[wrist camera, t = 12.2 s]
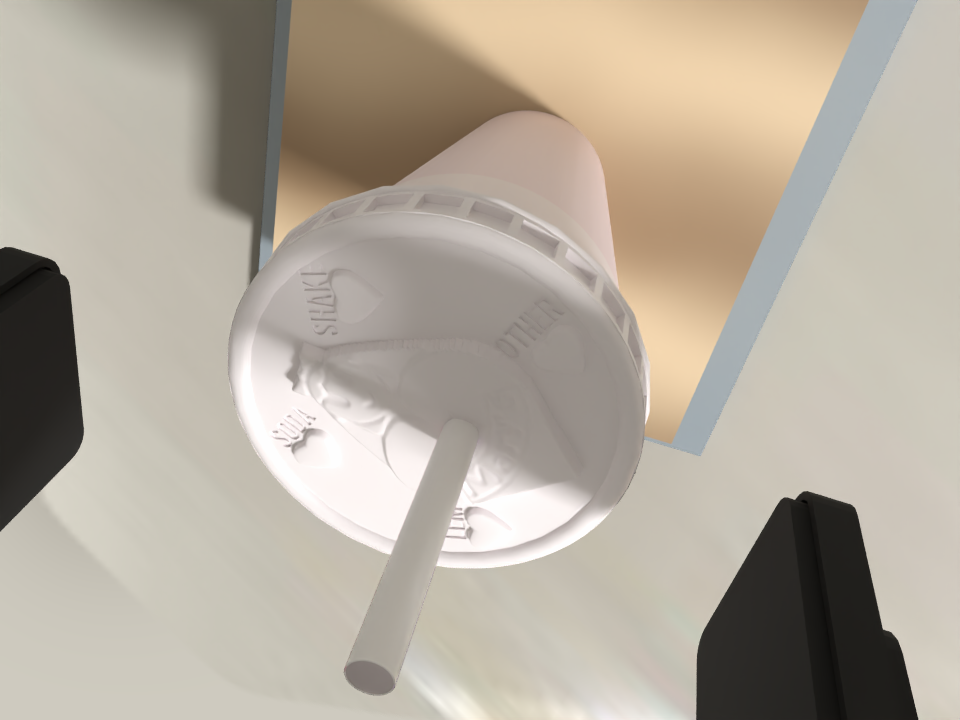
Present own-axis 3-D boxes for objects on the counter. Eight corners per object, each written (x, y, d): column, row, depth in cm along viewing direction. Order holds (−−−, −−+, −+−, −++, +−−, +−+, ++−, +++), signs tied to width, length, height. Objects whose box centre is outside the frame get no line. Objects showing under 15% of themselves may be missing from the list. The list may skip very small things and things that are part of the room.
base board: (309, -325, 20) (298, -330, 19) (983, -156, 19) (991, -156, 18) (262, 315, 30) (254, 323, 29) (700, 445, 29) (700, 456, 28)
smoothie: (603, 337, 22) (516, 899, 10) (376, 253, 22) (33, 718, 10) (709, 106, 18) (757, 566, 7) (437, 7, 18) (18, 293, 7)
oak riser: (364, -157, 21) (304, -157, 17) (840, -32, 20) (872, -7, 17) (317, 264, 27) (267, 323, 24) (672, 368, 27) (671, 443, 23)
